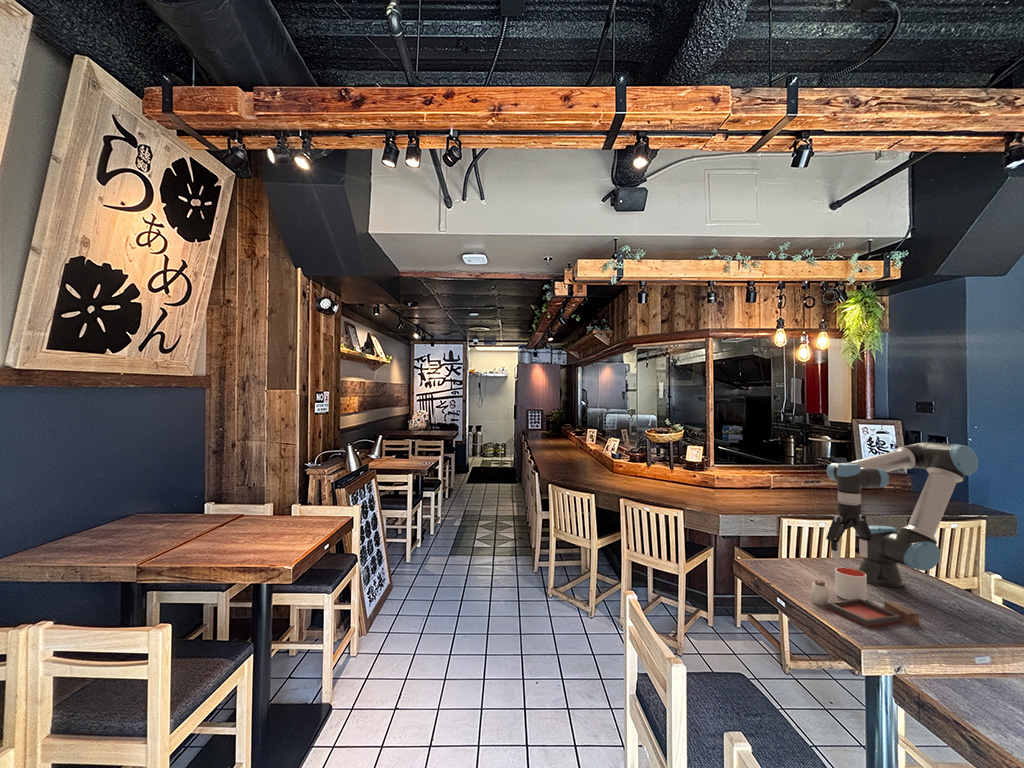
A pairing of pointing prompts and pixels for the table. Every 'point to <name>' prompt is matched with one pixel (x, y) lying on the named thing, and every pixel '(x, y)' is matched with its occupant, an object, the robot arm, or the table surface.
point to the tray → (864, 613)
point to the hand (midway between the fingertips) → (849, 557)
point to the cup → (850, 584)
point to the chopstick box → (902, 612)
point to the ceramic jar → (820, 593)
